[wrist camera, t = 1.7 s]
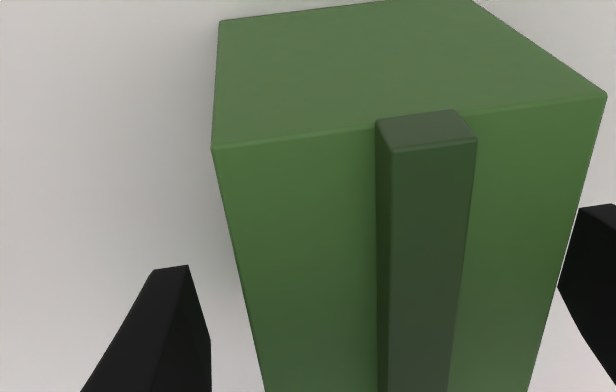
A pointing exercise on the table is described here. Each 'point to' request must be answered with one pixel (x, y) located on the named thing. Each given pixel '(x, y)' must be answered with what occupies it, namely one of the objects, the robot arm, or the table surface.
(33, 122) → the table surface
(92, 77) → the table surface
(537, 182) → the green block
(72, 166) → the table surface
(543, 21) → the table surface
